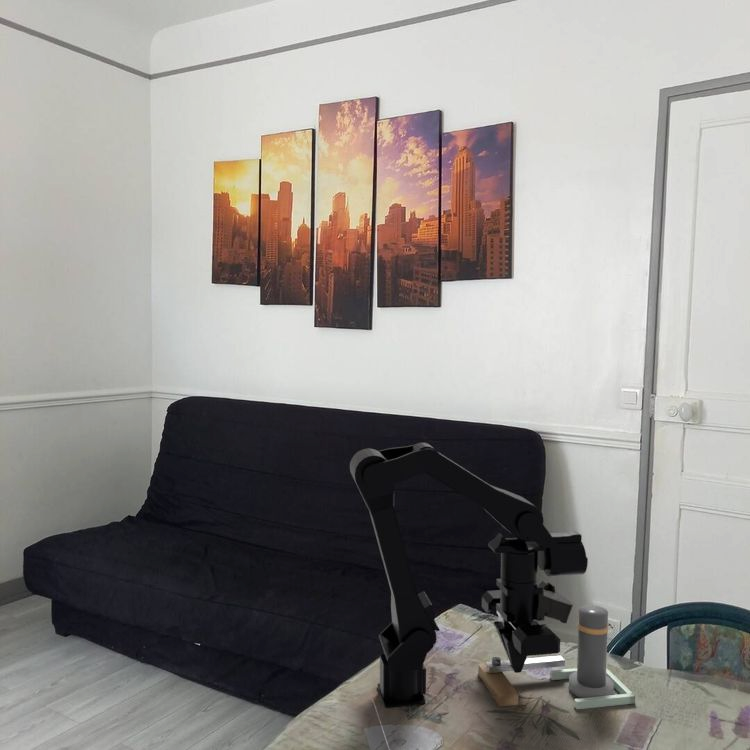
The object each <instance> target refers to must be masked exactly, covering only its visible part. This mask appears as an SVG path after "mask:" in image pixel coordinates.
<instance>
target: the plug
mask: <svg viewBox="0 0 750 750" xmlns="http://www.w3.org/2000/svg"><path fill="white" fill-rule="evenodd" d="M608 622H609V611H608V610H607V609H606V608H604V607H601V606H599V605H593V604H585V605H581V606H579V607H578V619H577V622H576V623H577V625H576V626H577V659H576V662H577V663H576V668H577V671H576V672H573V673H572V674H571V675H570V676H569V679H568V690H569V692H570V693H571V694H573V695H574V696H575V697H577V698H578V699H580V698H590V697H600V696H609V695H615V694H614V693H615V691H614V690H615V688H614V683H613V681H612V680H611V679H610V678H609V677H607V676H606V668H607V659H608V658H607V657H608V653H607V652H608V651H607V650H608V632H609V629H610V626H609V623H608Z"/></svg>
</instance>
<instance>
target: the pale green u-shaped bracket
mask: <svg viewBox="0 0 750 750" xmlns="http://www.w3.org/2000/svg"><path fill="white" fill-rule="evenodd" d="M576 671H577V667H576V668H575V667H574V668H565V669H563V668H562V669H553V670H552V669H551V670H549V679H550V680H551V681H555V680H569V676H570V675H571V674H572V673H573V672H576ZM606 676H607V677H609V678H610V679H611V680H612V681H613V683H614V690H616V692H618V693H619V694H613V695H609V696H600V697H590V698H574V699H573V700H574V702H573V705H574V708H575V709H576V710H584V709H585V710H586V709H595V708H603V707H604V708H605V707H611V706H612V707H614V706H624V705H632V704H636V695H635V694H634V693H633V692H632V691H631V690H630V689H629V688H628V687H627V686H626V685H625V684H624V683H622V681H621V680H619V678H617V676H616V675H614V674H613V673H612V671H610V670H609V669H608V667H606Z"/></svg>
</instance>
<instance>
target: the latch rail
mask: <svg viewBox="0 0 750 750" xmlns="http://www.w3.org/2000/svg"><path fill="white" fill-rule="evenodd" d="M477 668H478V669H477V670H478V676H479V677H480V679H481V680H482V682H483V684H484V685H485V687H486V688H487V690H488V692H489V693H490V694H491V696H492V697H493V699H494V700H495V702H496V704H497V705H498V707H508V706H519V693H518V692H517V690H516V689H515V688H514V685H512V683H511V681H510V680H509V679H508V678H507V676H506V675H505V674H504V672H495V673H489V672H488V671H487V669H486V663H479V664H478V666H477Z"/></svg>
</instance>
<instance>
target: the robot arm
mask: <svg viewBox="0 0 750 750" xmlns="http://www.w3.org/2000/svg"><path fill="white" fill-rule="evenodd" d="M349 471H350V474H351V476H352V478H353V480H354V482H355V484H356V487H357V488H358V491H359V493H360V495H361V497H362V499H363V501H364V503H365V505H366V508H367V509H368V511H369V515H370V519H371V523H372V527H373V530H374V534H375V537H376V541H377V544H378V549H379V552H380V556H381V561H382V563H383V566H384V571H385V574H386V578H387V581H388V585H389V589H390V612H391V613H390V614H391V622H390V623H389V624H387V626H386V627H385V628H384V629H383V630H382V631H381V632H380V633H379V634H378V639H379V641H380V643H381V647H382V650H383V652H384V653H381V654H379V682H378V683H377V690H378V693H379V695H380V699H381V701H382V703H383V707H384V708H386V709H387V708H398V707H399V708H400V707H405V706H406V707H408V706H415V705H416V706H418V705H425V704H426V702H427V701H426V697H425V695H426V693H427V668H426V666H425V665H424V662H425V660H426V658H427V654H428V653H430V652H431V651H432V650H433V648H434V647H435V645H436V643H437V639H438V638H437V632H440V628H439V626H438V624H437V622H436V620H435V611H434V605H433V604H432V602H431V599H430V598H429V597H428V595H427V594H426V592H425V591H424V590H423V591H421V592H419V593H418V592H417V588H416V586H415V581H414V578H413V574H412V573H413V572H412V571H411V567H410V563H409V559H408V558H409V557H408V556H407V555H408V554H407V552H406V548H405V544H404V541H403V536H402V533H401V530H400V526H399V522H398V518H397V514H396V511H395V509H396V508H395V484H398V483H402V482H405V481H407V480H409V479H412V478H414V477H417V476H419V475H421V474H423V475H424V474H427V475H429V476H431V477H432V478H434V479H436V480H437V481H439V482H440V483H442V484H443V485H445V486H446V487H449V488H450V489H452V490H453V491H455V492H456V493H458V494H459V495H460V496H462V497H465V499H468V500H469V501H470V502H472V503H473V504H475V505H477V506H479V507H480V508H482V509H484V511H485V512H486V513H488V515H490V516H491V518H493V519H494V520H495V521H497V523H498V524H500V525H501V526H502V528H504V529H505V530H506V531H508V532H509V533H510V535H512V536H514V537H512V538H511V537H510V538H509V537H507V538H505V537H504V536H503V535H502V533H498V534H497V535H496V536H495V538H493V539H492V540H490V541H489V542H487V543H488V545H487V546H488V547H489V548H490V549H491V551H493V553H494V554H500V578H496V586H497V588H499V589H498V590H497V589H495V590H486V591H485V593H484V594H483V595H482V596H481V608H482V610H484V612H486V613H487V614H489V613H491V612H492V609H493V607H495V610H496V614H497V615H498V620H496V621H493V626H494V628H495V629H496V632H497V634H498V637H499V639H500V642H501V644H502V647H503V649H504V651H505V653H506V655H507V658H508V659H507V660H509V661H510V664H511V666H512V669H513V671H512V672H514V673H515V674H517V673H521V672H522V671H523V670H522V669H523V666H524V663H525V660H526V659H527V658H528V657H530V656H541V655H553V654H559V653H560V652H561V638H560V637H559V636H558V635H557V634H556V633H555V632H554V631H553V630H552V628H550V627H549V626H548V625H547V624H539V622H541V621H545V617H547V618H549V619H553V620H557V621H559V622H560V623H563V624H567V623H568V619H569V617H570V615H571V613H572V610H573V607H574V606H573V605H574V603H572V602H571V601H570V600H569V599H568V598H566V597H565V596H564V595H562V594H560V592H556V587H555V585H554V584H552V582H550V581H546V580H542V581H541V582H540V583H538V568H539V570H540V571H543V572H544V574H545V575H546V576H547V577H560V576H561V577H562V576H563V577H564V576H579V575H584V574H585V573H586V572H587V569H588V563H589V562H588V561H589V560H588V556H587V553H586V549H585V546H584V544H583V542H582V540H583V539H582V534H581V533H579V532H578V531H576V530H570V531H569V530H568V531H565V532H551V533H550V532H549V530H548V529H547V528H546V527H545V525H544V514H543V512H542V510H541V509H540V508H538V507H537V506H536V505H534V504H533V503H531V501H529V500H527V499H526V498H525V497H523V496H522V495H519V494H517V493H516V494H515V493H513V492H511V491H508V490H506V489H502V488H500V487H497V486H494V485H491V484H490V483H488V482H486V481H484V480H483V479H481V478H480V477H478V476H477V475H475V474H473V472H471V471H469V470H467V469H466V468H464V467H463V466H461V465H459V464H458V463H456V462H454V461H453V460H452V459H450V458H448V457H447V456H445V455H443V454H442V453H441V452H439V451H438V450H437V449H435V448H434V447H433V446H432V445H430V444H429V443H427V442H419V443H416V444H411V445H408V446H407V445H406V446H397V447H389V448H385V449H381V450H377V449H374V448H371V447H368V448H364V449H363V448H362V449H361V450H358V451H357V452H356V453H355V454H354V455H353V456H352V458H351V460H350V462H349ZM528 540H531V541H528ZM436 631H437V632H436Z"/></svg>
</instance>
